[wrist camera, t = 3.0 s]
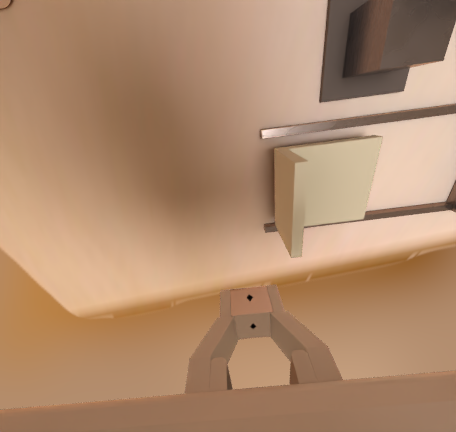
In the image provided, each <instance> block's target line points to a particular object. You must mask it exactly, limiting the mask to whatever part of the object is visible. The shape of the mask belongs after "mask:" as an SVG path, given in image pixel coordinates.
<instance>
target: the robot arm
mask: <svg viewBox="0 0 456 432" xmlns="http://www.w3.org/2000/svg"><path fill="white" fill-rule="evenodd" d="M10 1H11V0H0V8H5V7H7V6H8V5H9V3H10ZM256 337H271V338H272V339H273V340H274V342H275V343H276V344H277V345H278V347H279V348H280V349H281V350H282V352H283V353H284V354H285V356H286V357H287V358H288V359H289V360H290V362H291V364H290V365H291V366H290V385H280V386H268V387H256V388H246V389H234V390H232V384H231V379H230V375H229V370H228V365H227V364H228V362H229V360H230V357H231V355H232V353H233V351H234V348H235V346H236V344H237V342H238V340H239V339H247V338H256ZM0 432H456V370H454V371H443V372H431V373H419V374H408V375H397V376H385V377H373V378H362V379H350V380H343V379H342V377H341V374H340V372H339V370H338V368H337V366H336V363H335V361H334V359H333V357H332V354H331V353H330V350H329V348H328V346H327V345H326V344H324V343H323V342H322V341H321V340H320V339H319V338H318V337H316V336H315V335H314V334H313V333H312V332H311V331H310V330H309V329H307V328H306V327H305V326H304V325H303V324H302V323H301V322H300V321H298V320H297V319H296V318H295V317H294V316H293V315H292V314H290V313H289V312H288V311H285V310H284V307H283V304H282V301H281V298H280V295H279V291H278V288H277V286H276V285H268V286H258V287H250V288H240V289H229V290H221V292H220V318H217V319H216V320H215V322H214V323H213V325H212V326H211V328H210V329H209V331H208V332H207V334H206V335H205V337H204V338H203V340H202V341H201V343H200V344H199V346H198V347H197V349H196V350H195V352H194V353H193V355H192V356H191V358H190V359H189V367H188V374H187V381H186V389H185V394H176V395H165V396H153V397H141V398H129V399H119V400H108V401H95V402H83V403H72V404H61V405H50V406H49V405H48V406H37V407H26V408H14V409H2V410H0Z"/></svg>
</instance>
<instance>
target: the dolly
mask: <svg viewBox="0 0 456 432" xmlns="http://www.w3.org/2000/svg"><path fill="white" fill-rule="evenodd" d="M382 139H383V137H382V136H376V135H372V136H364V137H357V138H349V139H341V140H334V141H326V142H318V143H311V144H303V145H295V146H288V147H280V148H274V170H275V226H276V228H277V230H278V232H279V234H280V236H281V238H282V240H283V242H284V244H285V246H286V248H287V250H288V252H289V254H290V256H291V258H294V257H302V246H303V232H304V226H312V225H320V224H328V223H336V222H345V221H353V220H361V219H364V215H365V211H366V207H367V203H368V198H369V194H370V190H371V186H372V181H373V177H374V173H375V169H376V164H377V160H378V156H379V152H380V147H381V143H382Z"/></svg>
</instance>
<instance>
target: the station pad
mask: <svg viewBox="0 0 456 432" xmlns="http://www.w3.org/2000/svg"><path fill="white" fill-rule="evenodd" d="M367 1H368V0H328V10H327V22H326V33H325V45H324V56H323V68H322V80H321V91H320V102H327V101H334V100H342V99H349V98H357V97H364V96H372V95H379V94H386V93H394V92H401V91H404V88H405V84H406V80H407V76H408V72H409V68H406V69H401V70H397V71H392V72H385V73H378V74H371V75H363V76H356V77H349V78H342V74H343V66H344V58H345V50H346V43H347V35H348V27H349V19H350V13H352V12H353V11H354V10H356V9H357V8H359V7H360V6H361V5H363V4H364V3H366V2H367Z"/></svg>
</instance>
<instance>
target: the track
mask: <svg viewBox="0 0 456 432" xmlns="http://www.w3.org/2000/svg"><path fill="white" fill-rule="evenodd" d="M454 113H456V104H451V105H443V106H436V107H428V108H421V109H413V110H405V111H398V112H390V113H383V114H375V115H368V116H360V117H353V118H345V119H337V120H330V121H322V122H315V123H307V124H300V125H292V126H285V127H277V128H269V129H262V130H260V131H261V138H262V139H264V138H272V137H280V136H287V135H295V134H302V133H310V132H318V131H325V130H333V129H340V128H348V127H356V126H363V125H371V124H378V123H386V122H394V121H401V120H409V119H416V118H424V117H432V116H439V115H447V114H454ZM446 210H452V211H454V212H456V182H455V184H454V186H453V188H452V191H451V193H450V195H449V197H448V200H447V202H441V203H432V204H424V205H416V206H408V207H400V208H392V209H384V210H376V211H368V212H365V215H364V219H361V220H353V221H345V222H336V223H328V224H320V225H312V226H304V228H307V227H316V226H324V225H332V224H340V223H348V222H356V221H364V220H373V219H381V218H389V217H397V216H405V215H413V214H422V213H430V212H438V211H446ZM264 230H265V233H267V232H275V231H278V230H277V228H276V226H275V223H270V224H264Z"/></svg>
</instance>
